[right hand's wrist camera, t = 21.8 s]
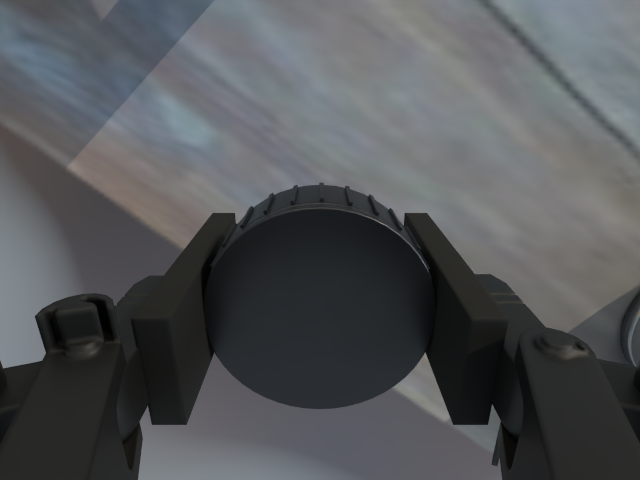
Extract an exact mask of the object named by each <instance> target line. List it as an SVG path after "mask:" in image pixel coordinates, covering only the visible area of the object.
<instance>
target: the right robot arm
mask: <svg viewBox="0 0 640 480" xmlns="http://www.w3.org/2000/svg"><path fill="white" fill-rule="evenodd" d="M234 223H236V221H235V213H213V214H212V215H211V216H210V217H209V219H208V220H207V221H206V223H205V224H204V225H203V226H202V228H201V229H200V230H199V231H198V233H197V234H196V235H195V237H194V238H193V239H192V240H191V242H190V243H189V244H188V245H187V247H186V248H185V249H184V251H183V252H182V253H181V254H180V256H179V257H178V258H177V260H176V261H175V262H174V263H173V265H172V266H171V267H170V268H169V270H168V271H167V272H166V274H165V275H164V276H148V277H146V278H145V279H143V280H141V281H139V282H138V283H136V284H134V285H133V286H132V287H131V289H130V290H129V291H128V292H127V293H126V294H125V297H123V298H122V299H121V300H120V301H119V302H118V303H117V306H114V304H113V300H112V299H111V298H110V297H108V296H107V295H102V294H96V293H95V294H81V295H76V296H71V297H67V298H64V299H62V300H59V301H56V302H54V303H52V304H50V305H48V306H47V307H45V308H43V309H42V310H41V311H40V312H39V313H38V314H37V315H36V316H35V318H36V322H37V325H38V328H39V331H40V335H41V338H42V341H43V344H44V348H45V351H46V355H45V357H44V359H43V360H42V361H40V362H35V363H30V364H25V365H19V366H14V367H9V368H4V369H3V367H2V364H1V362H0V480H138V473H139V465H140V456H141V448H142V440H143V438H142V432H141V427H140V422H139V421H140V419H141V417H142V415H143V413H144V412H145V410H146V408H147V406H148V408H149V412H150V417H151V422H152V425H186V424H187V422H188V419H189V417H190V414H191V412H192V409H193V406H194V404H195V401H196V398H197V396H198V393H199V391H200V388H201V385H202V383H203V380H204V378H205V375H206V372H207V370H208V367H209V365H210V362H211V359H212V357H213V354H214V350H213V348H212V346H211V344H210V342H209V339H208V336H207V333H206V327H205V319H204V310H203V297H204V290H205V286H206V283H207V279H208V276H209V274H210V272H211V270H212V269H210V265H211V264H212V262H213V260H214V258H215V257H216V255H217V253H218V251H219V250H220V248H221V245H222V244H223V242H224V240H225V238H226V237H227V235H228V233H229V232H230V230H231V228H232V226H233V225H234ZM405 226H407V227H408V228H409V230H410V232H411V233H412V235H413V237H414V239H415V240H416V242H417V244H418V245H419V247H420V249H419V250H420V251H421V253H422V255H423V256H424V258H425V260H426V262H427V263H428V265H429V267H430V269H431V272H429V273H430V275H431V277H432V280H433V283H434V288H435V292H436V300H437V308H436V316H435V324H434V331H433V335H432V338H431V341H430V343H429V346H428V348H427V349H426V351H425V352H426V355H427V357H428V360H429V363H430V365H431V368H432V370H433V373H434V376H435V378H436V381H437V384H438V386H439V389H440V391H441V394H442V397H443V399H444V402H445V404H446V407H447V410H448V412H449V415H450V417H451V420H452V423H453V425H488V421H489V416H490V411H491V406H492V404H493V406H494V408H495V410H496V412H497V414H498V416H499V418H500V419H501V422H500V427H499V431H498V436H497V440H496V445H495V450H494V454H493V459H492V465H495V466H497V465H498V460H499V457H500V464H501V472H502V480H640V293H639V294H638V296H637V297H636V298H635V300H634V301H633V302H632V304H631V306H630V307H629V309H628V311H627V313H626V315H625V318H624V321H623V324H622V328H621V346H622V350H623V352H624V355H625V357H626V358H627V360H628V361H629V363H630V364H631V365H632V366H630V365H625V364H620V363H615V362H609V361H604V360H600V359H597V358H596V356H595V354H594V352H593V351H592V350H591V349H590V347H589V346H588V345H587V344H586V343H584V342H583V341H581V340H580V339H578V338H577V337H575V336H572V335H570V334H568V333H565V332H563V331H559V330H555V329H551V328H546V327H545V326H544V325H543V324H542V323H541V322H540V320H539V319H538V318H537V317H536V316H535V315H534V314H533V313H532V312H531V310H530V309H529V308H528V307H527V306H526V305H525V304H523V302H522V300H521V299H520V298H519V297H518V296H517V295H515V293H514V292H513V290H512V289H511V288H510V287H509V286H508V285H507V284H506V283H505V282H503V281H501V280H500V279H498V278H496V277H494V276H493V275H491V274H474V273H473V271H472V270H471V269H470V268H469V266H468V265H467V264H466V262H465V261H464V260H463V259H462V257H461V256H460V255H459V253H458V252H457V251H456V250H455V248H454V247H453V246H452V245H451V243H450V242H449V241H448V239H447V238H446V237H445V236H444V234H443V233H442V232H441V231H440V229H439V228H438V227H437V225H436V224H435V223H434V222H433V220H432V219H431V218H430V216H429V215H428V214H427V213H405V218H404V227H405Z"/></svg>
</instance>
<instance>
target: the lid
mask: <svg viewBox="0 0 640 480" xmlns="http://www.w3.org/2000/svg"><path fill="white" fill-rule="evenodd" d="M419 249H420V247H419V245H418V244H417V242H416V240H415V239H414V237H413V235H412V233H411V232H410V230H409V228H408V227H407V226H405V227H404V226H403V225H402V224H401V222H400V221H399V220H398V218H397V217H396V215H395V213H394V211H393V210H392V209H391V208H390V209H389V210H388V209H387V208H386V207H384V206H383V205H382V204H380V203H379V202H377V201H376V200H374V197H373V196H372V195H369V196H366V195H364V194H362V193H359V192H356V191H354V190H351V189H350V188H349V186H345V188H342V187H337V186H328V185H324V183H320V185H312V186H303V187H298V185H295V186H294V187H293V188H292V189H289V190H286V191H283V192H280V193H278V194H276V195H274V194H273V193H272V194H270V195H269V197H268V198H267V199H266V200H264V201H263V202H261V203H259V204H258V205H256V206H255V207H254V208H253V207H252V206H251V207H250V208H249V209H248V211H247V213H246V215H245V216H244V217H243V218H242V220H241V221H240V222H239V223H238V224H236V223H234V225H233V226H232V228H231V230H230V232H229V233H228V235H227V237H226V238H225V240H224V242H223V244H222V245H221V248H220V250H219V251H218V253H217V255H216V257H215V258H214V260H213V262H212V264H211V265H210V269H212V270H211V272H210V274H209V276H208V279H207V283H206V286H205V290H204V297H203V310H204V319H205V327H206V333H207V336H208V339H209V342H210V344H211V346H212V348H213V350H214V352H215V354H216V356H217V357H218V358H219V360H220V361H221V363H222V364H223V366H224V367H225V368H226V369H227V370H228V371H229V372H230V373H231V374H232V375H233V376H234V377H235V378H236V379H237V380H238V381H240V382H241V383H242V384H243V385H245V386H246V387H248V388H249V389H251V390H252V391H254V392H256V393H258V394H260V395H262V396H263V397H266V398H268V399H271V400H273V401H276V402H279V403H282V404H286V405H289V406H295V407H301V408H311V409H331V408H339V407H345V406H350V405H354V404H358V403H361V402H364V401H366V400H369V399H372V398H374V397H376V396H378V395H380V394H382V393H384V392H386V391H387V390H389V389H390V388H392V387H393V386H395V385H396V384H397V383H399V382H400V381H401V380H402V379H404V378H405V377H406V376H407V375H408V374H409V373H410V372H411V371H412V370H413V369H414V368H415V366H416V365H417V364H418V362H419V361H420V359H421V358H422V357H423V355H424V353H425V351H426V349H427V348H428V346H429V343H430V341H431V338H432V335H433V331H434V324H435V316H436V308H437V300H436V292H435V288H434V283H433V280H432V277H431V275H430V273H429V272H431V269H430V267H429V265H428V263H427V262H426V260H425V258H424V256H423V255H422V253H421V251H420V250H419Z"/></svg>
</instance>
